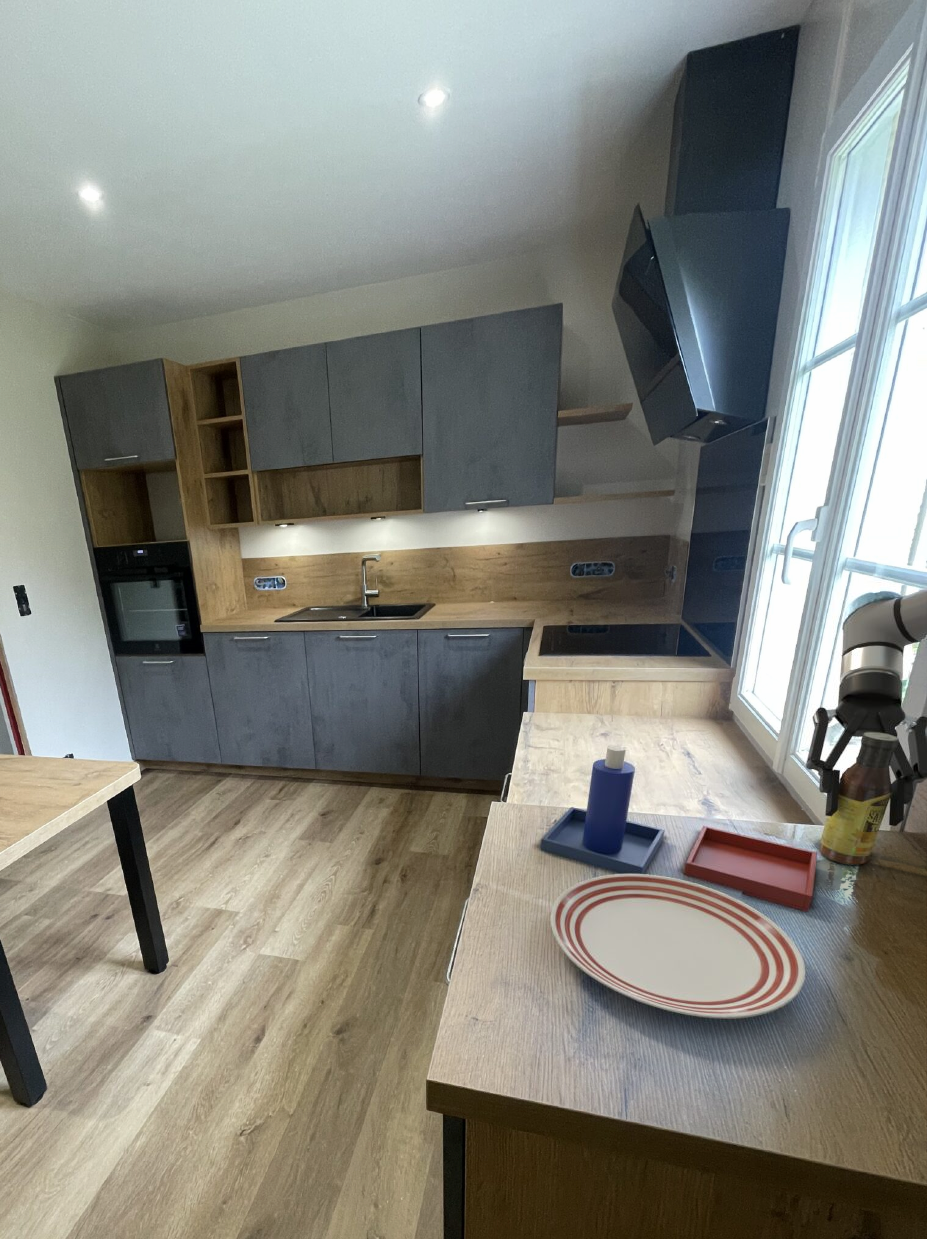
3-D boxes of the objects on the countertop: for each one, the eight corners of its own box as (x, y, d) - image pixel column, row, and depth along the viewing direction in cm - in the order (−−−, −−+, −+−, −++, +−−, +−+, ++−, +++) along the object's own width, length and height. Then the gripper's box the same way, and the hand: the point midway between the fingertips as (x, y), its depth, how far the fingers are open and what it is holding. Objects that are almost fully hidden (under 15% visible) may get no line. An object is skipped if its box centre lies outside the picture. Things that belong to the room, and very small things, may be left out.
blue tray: (662, 843, 101) (664, 829, 100) (639, 882, 91) (642, 867, 90) (569, 819, 110) (571, 806, 109) (539, 852, 99) (541, 838, 98)
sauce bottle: (861, 872, 91) (903, 747, 84) (811, 856, 96) (847, 736, 88) (872, 856, 95) (914, 736, 87) (824, 842, 99) (860, 726, 92)
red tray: (812, 866, 93) (817, 852, 92) (807, 912, 83) (812, 896, 82) (700, 838, 102) (703, 825, 101) (682, 877, 91) (685, 862, 90)
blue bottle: (626, 842, 100) (642, 745, 94) (615, 858, 96) (632, 757, 89) (589, 832, 104) (602, 738, 97) (577, 847, 99) (590, 749, 93)
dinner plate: (557, 1016, 67) (560, 992, 66) (542, 881, 92) (544, 862, 90) (847, 1059, 61) (857, 1034, 59) (748, 901, 85) (753, 881, 84)
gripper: (941, 700, 95) (939, 839, 88) (788, 688, 104) (775, 813, 97) (966, 675, 89) (966, 822, 82) (800, 664, 97) (788, 796, 90)
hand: (863, 817), depth 89 cm, fingers open, 7 cm apart
